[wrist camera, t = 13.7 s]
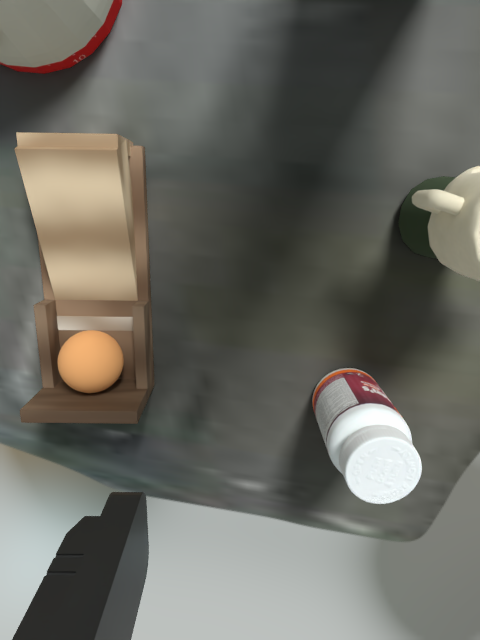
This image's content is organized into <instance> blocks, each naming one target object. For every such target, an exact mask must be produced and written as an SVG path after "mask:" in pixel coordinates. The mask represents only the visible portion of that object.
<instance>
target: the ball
mask: <svg viewBox="0 0 480 640" xmlns="http://www.w3.org/2000/svg"><path fill="white" fill-rule="evenodd" d="M123 364H124V358H123V352H122V350H121V347H120V346H119V344H118V343H117V341H116V340H115V339H114V338H113V337H111V336H110V335H108V334H106V333H104V332H101V331H96V330H87V331H82V332H79V333H77V334H75V335H73V336H72V337H70V338H69V339H68V340H67V341H66V342H65V343H64V344H63V346H62V348H61V350H60V352H59V355H58V370H59V373H60V375H61V377H62V379H63V380H64V382H65V383H66V384H67V385H68V386H70V387H71V388H73V389H75V390H76V391H79V392H84V393H96V392H100V391H103V390H105V389H107V388H109V387H110V386H111V385H113V384H114V383H115V382H116V380H117V379H118V378H119V376H120V374H121V372H122V369H123Z"/></svg>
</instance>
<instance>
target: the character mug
mask: <svg viewBox="0 0 480 640" xmlns="http://www.w3.org/2000/svg"><path fill="white" fill-rule="evenodd" d="M398 224H399V228H400V232H401V236H402V240H403V241H404V243H405V244H406V245H407V246H408V247H409V248H410V249H411V250H412V251H413V252H414V253H417V254H420V255H423V256H426V257H429V258H438V260H439V261H440V263H442V264H443V265H445V266H446V267H448V268H450V269H451V270H453V271H455V272H456V273H458V274H460V275H463V276H466V277H469V278H472V279H475V280H478V281H480V166H477V167H473V168H470V169H468V170H466V171H465V172H463V173H462V174H460V175H459V176H458V177H456V178H455V177H445V176H443V177H438V178H432V179H427V180H425V181H424V182H422V183H421V184H419V185H418V186H416V187H414V188H413V189H411V191H410V192H409V194H408V196H407V198H406V199H405V201H404V203H403V204H402V207H401V212H400V218H399V223H398Z"/></svg>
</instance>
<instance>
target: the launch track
mask: <svg viewBox="0 0 480 640" xmlns="http://www.w3.org/2000/svg"><path fill="white" fill-rule="evenodd" d="M16 135H17V144H18V147H16V148H15V153H16V156H17V160H18V164H19V167H20V171H21V175H22V178H23V182H24V186H25V189H26V193H27V197H28V201H29V204H30V208H31V212H32V215H33V219H34V223H35V226H36V230H37V234H38V244H39V253H40V263H41V272H42V281H43V291H44V300H43V301H41V302H39V303H37V304H35V305H34V313H35V322H36V331H37V340H38V348H39V357H40V366H41V375H42V384H43V388H42V389H41V390H40V391H39V392H38V393H37V394H36V395H35V396H34V397H33V398H32V399H31V400H30V401H29V402H28V403H27V404H26V405H25V406H24V407H23V408H22V409H21V410H20V415H21V422H27V423H123V424H137V423H138V421H139V419H140V417H141V414H142V412H143V410H144V408H145V405H146V403H147V401H148V399H149V396H150V394H151V392H152V390H153V387H154V361H153V337H152V312H151V287H150V263H149V238H148V213H147V189H146V164H145V147H143V146H133V142H131V141H129V140H127V139H126V138H124V137H122V136H120V135H118V134H82V133H18V132H16ZM87 330H96V331H101V332H104V333H106V334H108V335H110V336H111V337H113V338H114V339H115V340H116V341H117V343H118V344H119V346H120V347H121V350H122V352H123V358H124V364H123V369H122V372H121V374H120V376H119V378H118V379H117V380H116V382H115V383H114V384H113V385H111V386H110V387H109V388H107V389H105V390H103V391H100V392H96V393H84V392H79V391H76V390H75V389H73V388H71V387H70V386H68V385H67V384H66V383H65V382H64V380H63V379H62V377H61V375H60V373H59V370H58V355H59V352H60V350H61V348H62V346H63V344H64V343H65V342H66V341H67V340H68V339H69V338H70V337H72V336H73V335H75V334H77V333H79V332H82V331H87Z"/></svg>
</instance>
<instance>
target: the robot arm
mask: <svg viewBox="0 0 480 640" xmlns="http://www.w3.org/2000/svg"><path fill="white" fill-rule="evenodd" d="M148 549H149V545H148V526H147V506H146V495H145V493H144V492H112V493H111V494H110V495H109V497H108V500H107V502H106V505H105V507H104V509H103V511H102V514H101V516H85V517H84V518H82V519H81V520H80V521H79V522H78V523H77V524H76V525H75V526H74V527H73V528H72V529H71V530H70V531H69V532H68V533H67V534H66V536H65V538H64V540H63V542H62V543H61V545H60V547H59V549H58V551H57V553H56V558H54V559H53V561H52V563H51V565H50V567H49V569H48V571H47V575H46V576H45V577H44V578H43V581H42V583H41V585H40V586H39V588H38V590H37V592H36V594H35V596H34V598H33V600H32V602H31V604H30V606H29V608H28V610H27V612H26V614H25V616H24V618H23V620H22V621H21V623H20V625H19V627H18V629H17V631H16V633H15V635H14V637H13V639H12V640H131V637H132V633H133V628H134V624H135V621H136V616H137V612H138V608H139V604H140V600H141V595H142V592H143V588H144V583H145V579H146V574H147V567H148V554H149V550H148Z"/></svg>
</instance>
